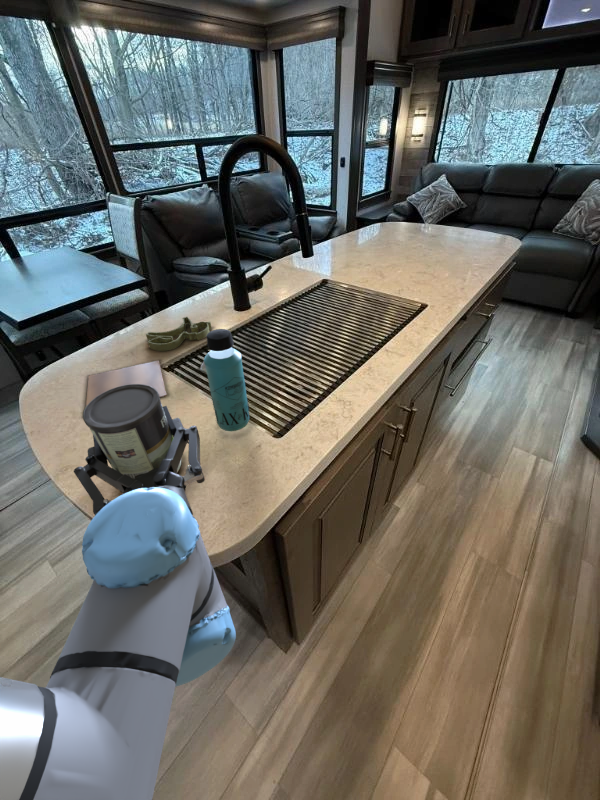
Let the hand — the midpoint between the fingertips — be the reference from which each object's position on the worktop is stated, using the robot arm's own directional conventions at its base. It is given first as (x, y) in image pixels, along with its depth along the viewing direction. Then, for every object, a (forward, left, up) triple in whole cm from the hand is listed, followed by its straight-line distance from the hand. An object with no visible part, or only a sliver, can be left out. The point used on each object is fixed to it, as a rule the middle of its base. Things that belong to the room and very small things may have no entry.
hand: (133, 423), depth 55 cm
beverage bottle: (+16, 0, -7) cm, 18 cm away
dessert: (+18, +23, -7) cm, 30 cm away
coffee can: (0, -4, -7) cm, 8 cm away
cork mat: (-3, +24, -7) cm, 25 cm away
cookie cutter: (+12, +43, -7) cm, 45 cm away
